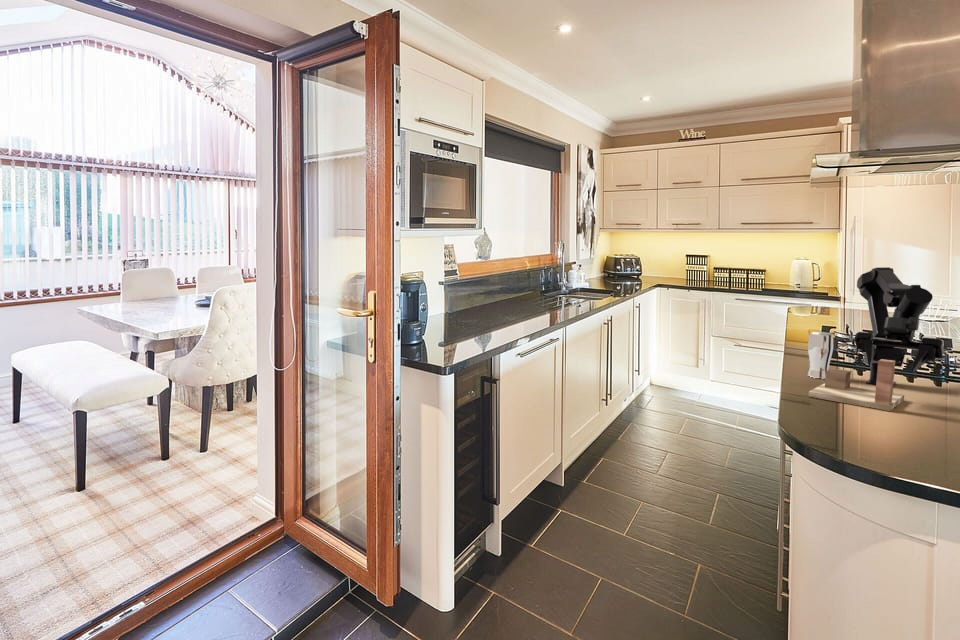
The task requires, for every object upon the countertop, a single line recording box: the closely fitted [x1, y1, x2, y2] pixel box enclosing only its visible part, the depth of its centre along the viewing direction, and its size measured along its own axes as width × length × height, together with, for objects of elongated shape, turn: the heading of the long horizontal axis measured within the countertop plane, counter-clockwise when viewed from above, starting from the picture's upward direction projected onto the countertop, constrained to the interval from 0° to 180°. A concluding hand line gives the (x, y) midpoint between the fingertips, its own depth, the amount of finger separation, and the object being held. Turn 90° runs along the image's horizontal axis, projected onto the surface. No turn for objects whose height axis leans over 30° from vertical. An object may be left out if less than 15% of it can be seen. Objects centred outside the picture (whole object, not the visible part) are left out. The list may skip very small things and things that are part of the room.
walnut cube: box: [824, 367, 852, 390], centre depth 150 cm, size 5×5×5 cm
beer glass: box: [807, 331, 834, 380], centre depth 168 cm, size 7×7×15 cm
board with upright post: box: [808, 359, 905, 412], centre depth 143 cm, size 15×19×13 cm
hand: (890, 368), depth 136 cm, fingers open, 9 cm apart
